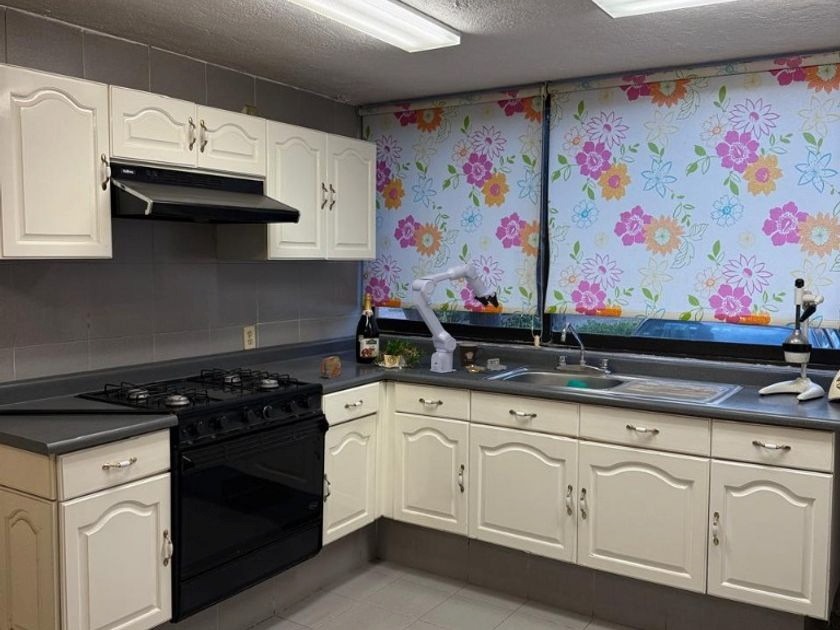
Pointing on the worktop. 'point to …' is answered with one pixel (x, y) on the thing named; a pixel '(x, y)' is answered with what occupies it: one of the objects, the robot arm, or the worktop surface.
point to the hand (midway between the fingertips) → (492, 305)
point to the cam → (476, 368)
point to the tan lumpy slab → (331, 367)
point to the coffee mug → (468, 354)
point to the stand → (495, 364)
